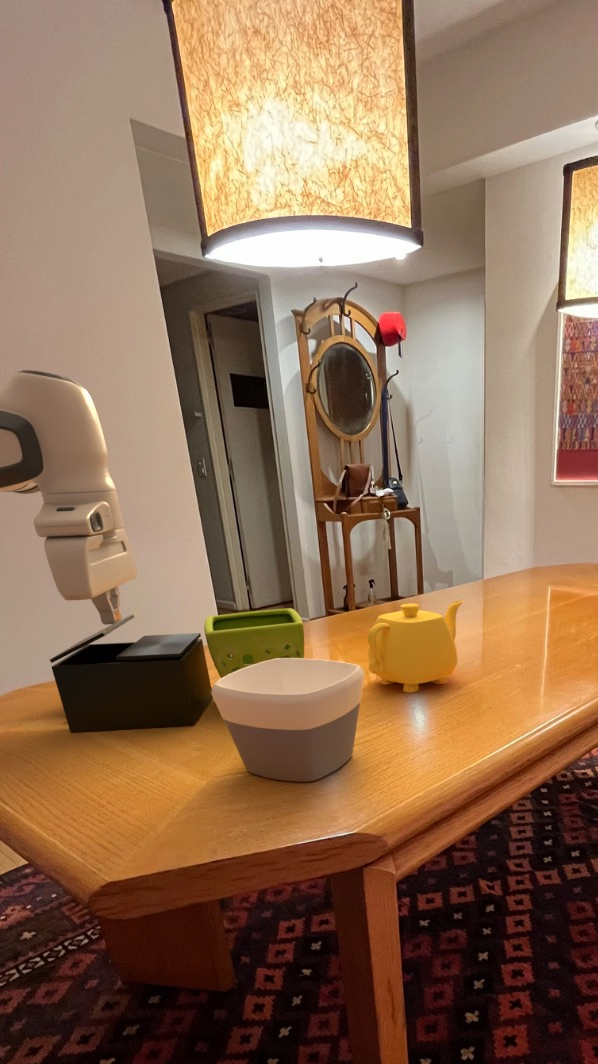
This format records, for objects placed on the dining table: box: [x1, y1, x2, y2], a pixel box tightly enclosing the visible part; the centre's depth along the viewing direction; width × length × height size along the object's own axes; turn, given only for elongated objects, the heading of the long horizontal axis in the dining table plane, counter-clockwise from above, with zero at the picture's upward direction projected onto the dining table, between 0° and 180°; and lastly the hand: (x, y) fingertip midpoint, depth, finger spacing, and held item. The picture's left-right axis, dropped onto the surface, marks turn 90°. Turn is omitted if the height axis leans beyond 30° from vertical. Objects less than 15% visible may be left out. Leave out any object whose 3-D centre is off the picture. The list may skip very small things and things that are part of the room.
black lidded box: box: [51, 632, 214, 734], centre depth 99 cm, size 17×13×10 cm
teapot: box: [367, 599, 464, 693], centre depth 111 cm, size 14×20×13 cm
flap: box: [49, 614, 135, 664], centre depth 95 cm, size 8×13×1 cm, turn 6°
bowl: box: [211, 657, 365, 783], centre depth 80 cm, size 15×15×11 cm
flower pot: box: [203, 607, 305, 679], centre depth 103 cm, size 14×14×13 cm
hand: (112, 622), depth 95 cm, fingers closed
